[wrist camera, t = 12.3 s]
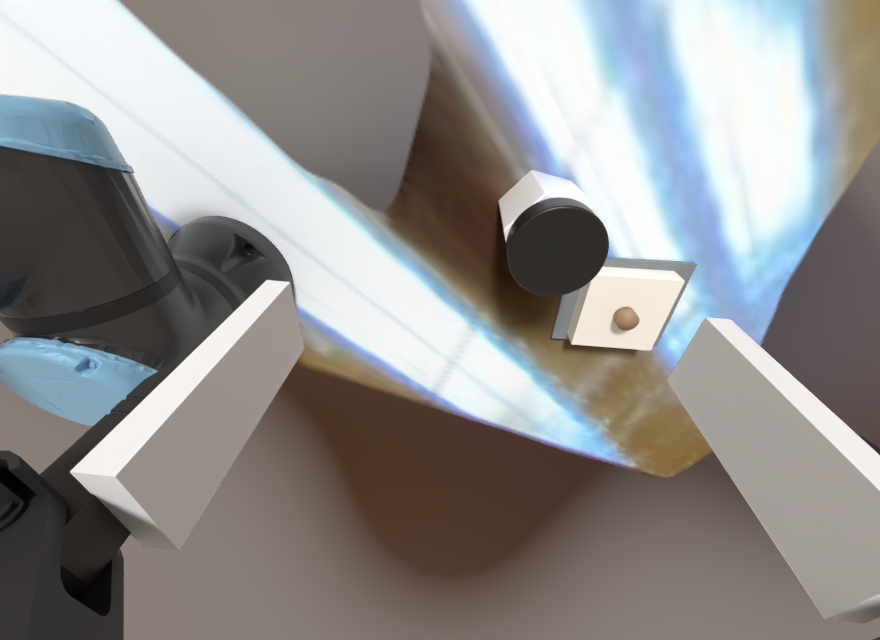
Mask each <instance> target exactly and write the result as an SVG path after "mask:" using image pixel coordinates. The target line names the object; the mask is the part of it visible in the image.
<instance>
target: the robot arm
mask: <svg viewBox="0 0 880 640" xmlns="http://www.w3.org/2000/svg"><path fill="white" fill-rule="evenodd" d="M133 173H134V170H133V168H132V167H131V166H130V165H128V164H127V163H126V161H125V159H124V158H123V156H122V154H121V153H120V151H119V149H118V147H117V146H116V144H115V142H114V140H113V138H112V136H111V135H110V133H109V131H108V129H107V128H106V126H105V125H104V123H103V122H102V121H101V120H100V119H99V118H98V117H97V116H96V115H94V114H93V113H92V112H90V111H89V110H87V109H85V108H83V107H81V106H79V105H77V104H74V103H71V102H66V101H61V100H53V99H45V98H36V97H26V96H16V95H5V94H0V320H1V322H2V323H3V324H4V325H5V326H6V327H7V328H8V329H9V330H10V331H11V333H12V334H13V335H14V338H12V339H7V340H5V341H3V342H1V343H0V381H1V382H2V383H3V384H4V385H5V386H6V387H7V388H9V389H10V390H11V391H13V392H14V393H15V394H17V395H18V396H20V397H22V398H23V399H25V400H26V401H28V402H30V403H32V404H34V405H36V406H38V407H40V408H42V409H44V410H46V411H48V412H51V413H53V414H55V415H57V416H60V417H63V418H66V419H68V420H71V421H74V422H77V423H80V424H84V425H88V426H92V428H91V429H89V431H87V432H86V433H85V434H84V435H83V436H82V437H81V438H80V439H79V440H78V441H76V442H75V443H74V444H73V445H72V446H71V447H70V448H69V449H68V450H66V452H64V453H63V454H62V455H61V456H60V457H59V458H58V459H57V460H56V461H54V462H53V463H52V464H51V465H50V466H49V467H48V468H47V469H46V470H45V471H43V472H42V473H41V474H40V475H39V474H38V473H36V471H35V470H34V469H32V468H31V467H30V466H29V465H28V464H27V463H26V462H25V461H24V460H23V459H22V458H21V457H19V456H18V455H16V454H14V453H12V452H10V451H0V640H123V624H124V620H123V619H124V617H123V616H124V610H123V609H124V607H123V605H124V602H123V601H124V599H123V598H124V594H123V593H124V582H123V581H124V578H123V577H124V569H123V568H124V559H123V556H122V552H121V550H120V549H119V548H120V547H121V546H122V544H123V543H124V542H125V540H126V539H127V537H128V536H129V535H130V534H131V535H132V536H133V537H134V538H135V539H136V540H137V541H138V542H139V543H140V544H141V545H142V546H143V547H150V548H160V549H169V550H178V551H179V550H180V548H181V547H182V545H183V543H184V542H185V540H186V539H187V537H188V535H189V534H190V532H191V530H192V529H193V527H194V525H195V524H196V522H197V521H198V519H199V518H200V516H201V514H202V513H203V511H204V510H205V508H206V506H207V505H208V503H209V502H210V500H211V498H212V497H213V495H214V493H215V492H216V490H217V489H218V487H219V485H220V484H221V482H222V481H223V479H224V477H225V476H226V474H227V473H228V471H229V469H230V468H231V466H232V464H233V463H234V461H235V460H236V458H237V456H238V455H239V453H240V451H241V450H242V448H243V447H244V445H245V443H246V442H247V440H248V439H249V437H250V436H251V434H252V432H253V431H254V429H255V427H256V426H257V424H258V423H259V421H260V419H261V418H262V416H263V414H264V413H265V411H266V410H267V408H268V407H269V405H270V403H271V402H272V400H273V398H274V397H275V395H276V393H277V392H278V390H279V389H280V387H281V386H282V384H283V382H284V381H285V379H286V378H287V376H288V374H289V373H290V371H291V369H292V368H293V366H294V365H295V363H296V361H297V360H298V358H299V357H300V355H301V353H302V352H303V350H304V349H305V348H304V343H303V339H302V334H301V329H300V325H299V320H298V316H297V311H296V306H295V302H294V297H293V293H292V289H293V284H292V277H291V273H290V270H289V268H288V265H287V263H286V261H285V259H284V258H283V256H282V255H281V253H280V252H279V251H278V249H277V248H276V247H275V246H274V245H273V244H272V243H271V242H270V241H269V240H268V239H267V238H266V237H265V236H264V235H262V234H261V233H260V232H258V231H257V230H255V229H254V228H252V227H250V226H249V225H247V224H245V223H242V222H240V221H237V220H234V219H231V218H227V217H221V216H208V217H202V218H199V219H196V220H194V221H192V222H190V223H188V224H186V225H184V226H183V227H181V228H180V229H178V230H177V231H176V232H175V233H174V234H173V235H172V237H171V238H170V240H169V242H168V244H166V242H165V240H164V238H163V236H162V234H161V232H160V230H159V228H158V226H157V223H156V221H155V219H154V217H153V215H152V213H151V211H150V209H149V207H148V205H147V203H146V201H145V198H144V196H143V194H142V192H141V190H140V188H139V186H138V184H137V182H136V180H135V178H134V176H133ZM667 382H668V384H669V385H670V387H671V388H672V390H673V391H674V393H675V394H676V396H677V397H678V399H679V400H680V402H681V403H682V405H683V406H684V408H685V409H686V411H687V412H688V414H689V415H690V417H691V418H692V420H693V421H694V423H695V424H696V426H697V427H698V429H699V430H700V432H701V433H702V435H703V436H704V438H705V439H706V441H707V442H708V444H709V445H710V447H711V448H712V450H713V451H714V453H715V454H716V456H717V457H718V459H719V460H720V462H721V463H722V465H723V467H724V468H725V470H726V471H727V473H728V474H729V476H730V477H731V479H732V480H733V482H734V483H735V485H736V486H737V488H738V489H739V491H740V492H741V494H742V495H743V497H744V498H745V500H746V501H747V503H748V504H749V506H750V507H751V509H752V510H753V512H754V513H755V515H756V516H757V518H758V519H759V521H760V522H761V524H762V525H763V527H764V528H765V530H766V531H767V533H768V534H769V536H770V537H771V539H772V540H773V542H774V543H775V545H776V547H777V548H778V550H779V551H780V552H781V554H782V555H783V557H784V559H785V560H786V562H787V563H788V565H789V566H790V568H791V569H792V571H793V572H794V574H795V575H796V577H797V578H798V580H799V581H800V583H801V584H802V586H803V587H804V589H805V590H806V592H807V593H808V595H809V596H810V598H811V599H812V601H813V602H814V604H815V605H816V607H817V608H818V610H819V611H820V613H821V614H822V616H823V617H824V619H828V620H837V621H847V622H856V623H866V622H868V621H871V620H874V619H876V618H878V617H880V448H878V447H877V446H876V445H874V444H873V443H871V442H870V441H868V440H867V439H865V438H863V437H862V436H861V435H859V434H857V433H856V432H854V431H853V430H851V429H850V428H849V427H848V426H847V425H846V424H845V423H844V422H843V421H842V420H840V419H839V418H838V417H837V416H836V415H835V414H834V413H833V412H831V411H830V410H829V409H828V408H827V407H826V406H825V405H824V404H823V403H822V402H820V401H819V400H818V399H817V398H816V397H815V396H814V395H813V394H812V393H811V392H809V391H808V390H807V389H806V388H805V387H804V386H803V385H802V384H801V383H800V382H798V381H797V380H796V379H795V378H794V377H793V376H792V375H791V374H790V373H788V372H787V371H786V370H785V369H784V368H783V367H782V366H781V365H780V364H779V363H778V362H776V361H775V360H774V359H773V358H772V357H771V356H770V355H769V354H768V353H767V352H765V351H764V350H763V349H762V348H761V347H760V346H759V345H758V344H757V343H756V342H754V341H753V340H752V339H751V338H750V337H749V336H748V335H747V334H746V333H745V332H743V331H742V330H741V329H740V328H739V327H738V326H737V325H736V324H735V323H733V322H732V321H731V320H730V319H718V318H706V317H705V319H704V320H703V322H702V324H701V325H700V327H699V329H698V330H697V332H696V334H695V335H694V337H693V338H692V340H691V342H690V343H689V345H688V347H687V348H686V350H685V352H684V353H683V355H682V357H681V358H680V360H679V362H678V363H677V365H676V367H675V368H674V370H673V372H672V373H671V375H670V377H669V378H668V380H667ZM873 640H880V637H878V638H876V639H873Z"/></svg>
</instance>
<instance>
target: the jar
mask: <svg viewBox="0 0 880 640" xmlns="http://www.w3.org/2000/svg"><path fill="white" fill-rule="evenodd" d="M498 203H499V209H500V214H501V220H502V225H503V231H504V236H505V241H506V253H507V259H508V265H509V269H510V272H511V274H512V276H513V277H514V279H515V280H516V281H517V283H518V284H519V285H520V286H522V287H523V288H524V289H526V290H528V291H529V292H532V293H534V294H537V295H542V296H560V295H565V294H568V293H571V292H574V291H576V290H578V289H580V288H582V287H583V286H585V285H586V284H588V283H589V282H590V281H591V280H592V279H593V278H594V277H595V276H596V275H597V274H598V273H599V271H600V270H601V268H602V267H603V265H604V263H605V261H606V258H607V254H608V249H609V240H608V234H607V231H606V229H605V226H604V225H603V223H602V222H601V220H600V219H599V218H598V217H597V207H596V206H595V205H594V204H593V203H592V202H591V201H590V200H589V199H588V198H587V197H586V196H585V194H584V193H583V192H582V191H581V190H580V189H579V188H578V187H577V186H576V185H575V184H574V183H573V182H572V181H570V180H566V179H562V178H559V177H555V176H552V175H548V174H545V173H542V172H538V171H535V170H531V171H529V172H528V173H527V174H526V175H525V176H524V177H523V178H522V179H521V180H520V181H519V182H518V183H517V184H516V185H515V186H513V187H512V188H511V189H510V190H509V191H508V192H507V193H506V194H505V195H504V196H503V197H502V198H501V199H500V200H499V201H498Z"/></svg>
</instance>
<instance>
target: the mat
mask: <svg viewBox="0 0 880 640" xmlns="http://www.w3.org/2000/svg"><path fill="white" fill-rule="evenodd" d="M696 265H697V264H696V263H694V262H681V261H663V260H645V259H628V258H610V257H607V258H606V261H605V263H604V265H603V267H619V268H635V269H651V270H666V271H675V272H676V273H677V274H678V275H679V276H680V277H681V278H682V279H683V280H684V281H685V282H684V284H683V286H682V288H681V290H680V292H679V294H678V296H677V298H676V300H675V302H674V304H673V306H672V309H671V311H670V313H669V315H668V317H667V319H666V321H665V323H664V325H663V327H662V329H661V331H660V333H659V335H658V337H657V339H656V341H655V343H654V346H657V344H658V342H659V340H660V338H661V336H662V334H663V332H664V330H665V328H666V326H667V324H668V322H669V320H670V318H671V316H672V314H673V312H674V310H675V308H676V306H677V304H678V302H679V300H680V298H681V296H682V294H683V292H684V290H685V288H686V285H687V283H688V281H689V279H690V277H691V275H692V273H693V271H694V269H695V267H696ZM579 291H580V289H578V290H576V291H574V292H571V293H568V294H565V295H561V298H560V302H559V306H558V310H557V314H556V318H555V321H554V325H553V329H552V333H551V338H555V339H569V337H568V334H567V331H568V328H569V325H570V321H571V318H572V315H573V311H574V308H575V305H576V301H577V298H578V295H579Z"/></svg>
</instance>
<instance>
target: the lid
mask: <svg viewBox="0 0 880 640" xmlns="http://www.w3.org/2000/svg"><path fill="white" fill-rule="evenodd" d="M684 282H685V281H684V280H683V279H682V278H681V277H680V276H679V275H678V274H677V273H676V272H675V271H666V270H651V269H635V268H619V267H602V268H601V270H600V271H599V273H598V274H597V275H596V276H595V277H594V278H593V279H592V280H591V281H590V282H589V283H588V284H586V285H585V286H583V287H582V288H580V291H579V295H578V298H577V301H576V305H575V308H574V311H573V315H572V318H571V321H570V325H569V328H568V331H567V334H568V337H569V340H570V342H571V344H572V345H586V346H599V347H612V348H625V349H638V350H651V349H652V347H653V345H654V343H655V341H656V339H657V337H658V335H659V333H660V331H661V329H662V327H663V325H664V323H665V321H666V319H667V317H668V315H669V313H670V311H671V309H672V306H673V304H674V302H675V300H676V298H677V296H678V294H679V292H680V290H681V288H682V286H683V284H684Z"/></svg>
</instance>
